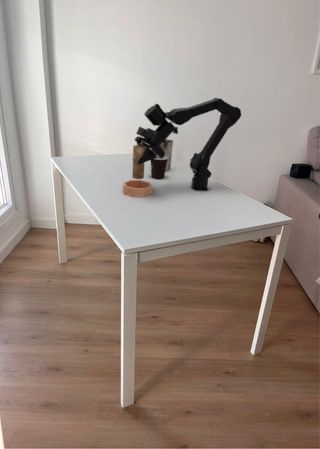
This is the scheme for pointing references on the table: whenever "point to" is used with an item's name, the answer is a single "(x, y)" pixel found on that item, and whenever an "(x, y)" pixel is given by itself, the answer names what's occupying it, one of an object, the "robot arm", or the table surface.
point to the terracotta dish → (137, 188)
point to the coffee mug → (158, 167)
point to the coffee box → (168, 152)
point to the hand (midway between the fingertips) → (135, 162)
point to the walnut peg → (137, 169)
